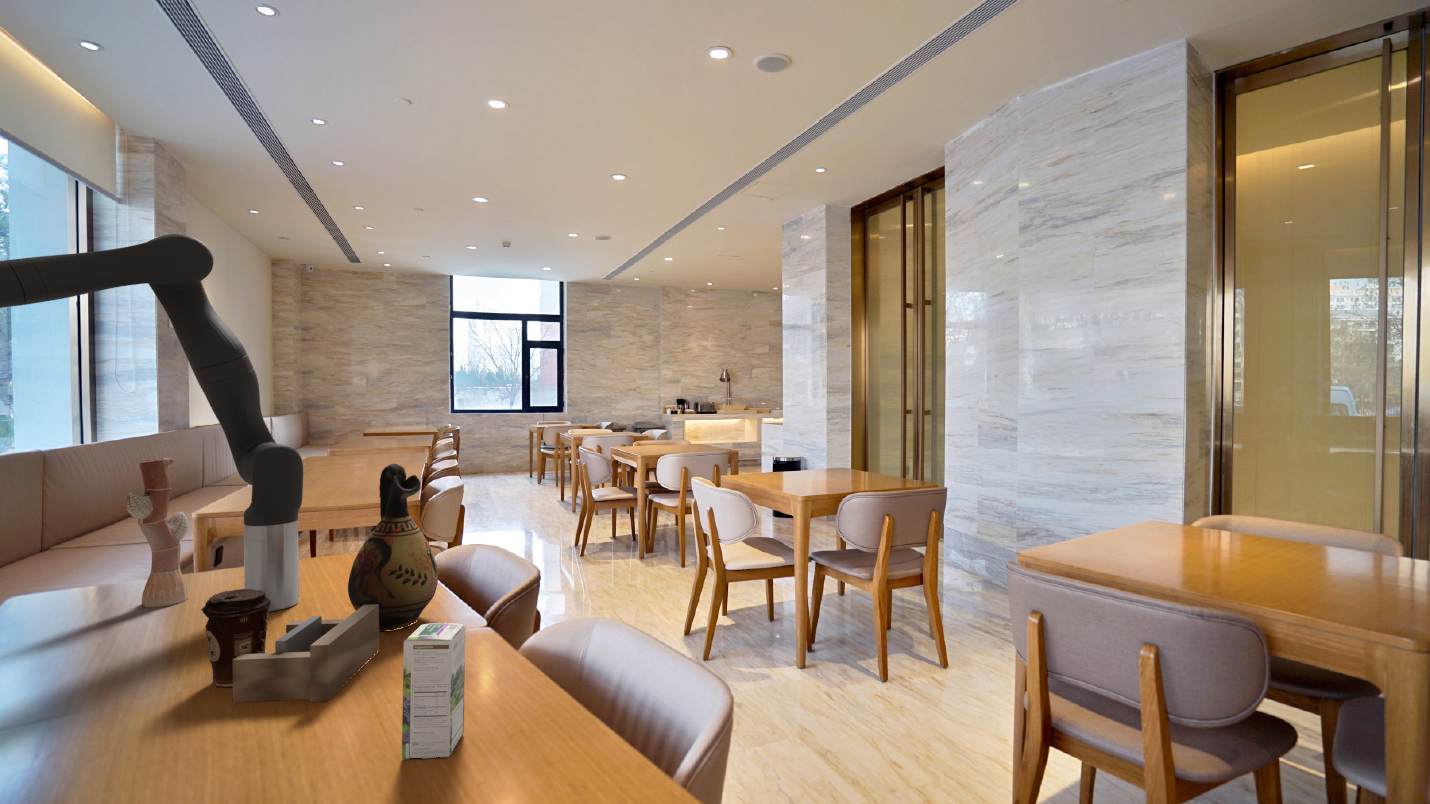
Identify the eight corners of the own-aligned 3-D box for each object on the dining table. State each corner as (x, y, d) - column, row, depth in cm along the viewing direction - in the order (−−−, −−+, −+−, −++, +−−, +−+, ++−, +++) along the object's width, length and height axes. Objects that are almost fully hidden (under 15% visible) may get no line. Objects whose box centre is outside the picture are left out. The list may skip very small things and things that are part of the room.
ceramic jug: (452, 622, 126) (452, 465, 125) (366, 644, 115) (365, 472, 114) (415, 602, 138) (414, 459, 137) (333, 621, 126) (332, 464, 126)
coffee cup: (195, 695, 95) (194, 606, 95) (207, 674, 102) (207, 590, 102) (267, 683, 99) (267, 597, 99) (274, 663, 106) (274, 583, 106)
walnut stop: (228, 705, 92) (228, 648, 92) (296, 654, 110) (295, 606, 110) (328, 701, 94) (327, 644, 93) (378, 651, 111) (378, 604, 111)
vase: (185, 593, 143) (184, 455, 142) (196, 600, 138) (195, 457, 138) (121, 606, 134) (119, 459, 134) (130, 613, 130) (128, 461, 130)
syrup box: (418, 735, 84) (418, 622, 84) (466, 734, 85) (465, 621, 85) (401, 760, 79) (400, 639, 78) (452, 758, 79) (451, 638, 79)
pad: (275, 688, 96) (275, 641, 96) (312, 659, 107) (312, 616, 107) (285, 688, 96) (285, 640, 96) (321, 658, 107) (321, 615, 107)
